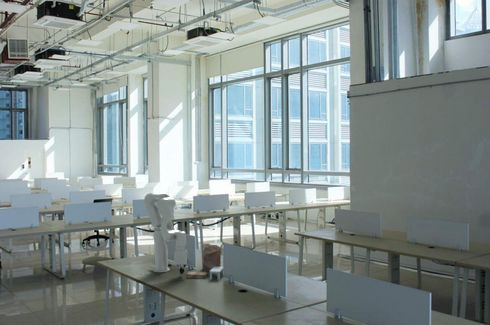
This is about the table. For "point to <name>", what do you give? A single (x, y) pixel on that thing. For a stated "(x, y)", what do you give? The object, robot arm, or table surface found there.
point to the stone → (210, 256)
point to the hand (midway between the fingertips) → (181, 273)
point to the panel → (197, 274)
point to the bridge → (216, 272)
